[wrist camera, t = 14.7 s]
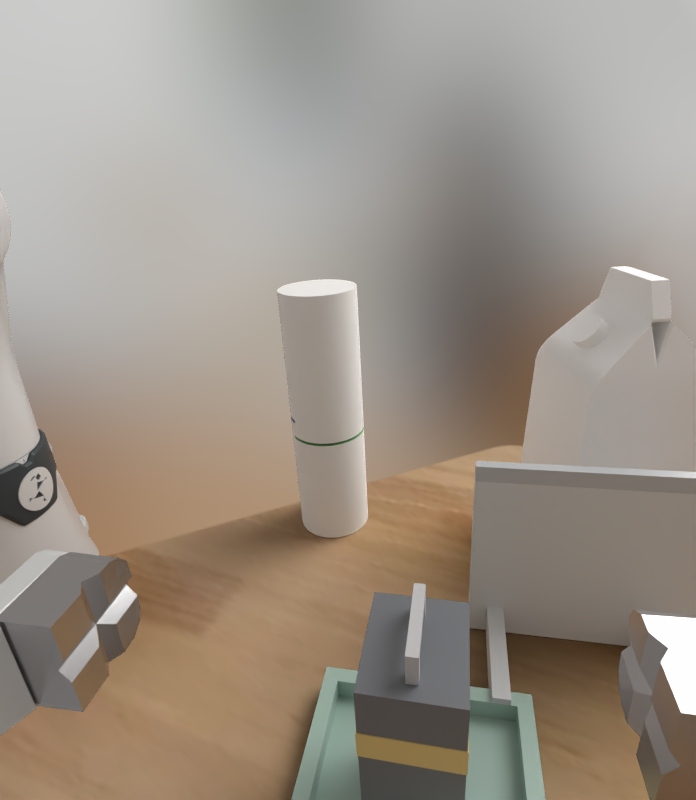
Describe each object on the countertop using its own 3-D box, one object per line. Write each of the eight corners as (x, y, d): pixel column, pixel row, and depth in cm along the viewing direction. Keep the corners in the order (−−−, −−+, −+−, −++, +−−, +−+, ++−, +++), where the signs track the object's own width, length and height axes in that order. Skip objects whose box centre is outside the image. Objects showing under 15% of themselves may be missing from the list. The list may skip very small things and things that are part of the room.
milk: (690, 583, 45) (772, 283, 35) (559, 592, 45) (602, 294, 35) (619, 502, 56) (665, 256, 46) (513, 510, 56) (535, 264, 46)
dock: (469, 719, 35) (479, 539, 29) (467, 616, 43) (475, 457, 37) (735, 759, 32) (810, 566, 26) (680, 640, 40) (728, 470, 34)
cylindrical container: (355, 492, 61) (342, 276, 51) (377, 527, 55) (368, 289, 45) (295, 506, 59) (270, 285, 49) (311, 544, 53) (286, 300, 43)
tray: (264, 939, 26) (259, 919, 25) (329, 685, 38) (326, 666, 37) (565, 1016, 23) (571, 995, 22) (529, 714, 35) (531, 694, 35)
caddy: (364, 858, 28) (349, 666, 22) (381, 745, 34) (372, 567, 28) (461, 879, 27) (473, 683, 21) (462, 759, 32) (471, 576, 27)
